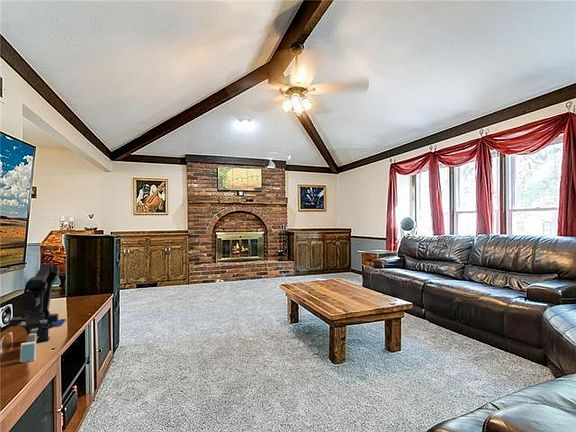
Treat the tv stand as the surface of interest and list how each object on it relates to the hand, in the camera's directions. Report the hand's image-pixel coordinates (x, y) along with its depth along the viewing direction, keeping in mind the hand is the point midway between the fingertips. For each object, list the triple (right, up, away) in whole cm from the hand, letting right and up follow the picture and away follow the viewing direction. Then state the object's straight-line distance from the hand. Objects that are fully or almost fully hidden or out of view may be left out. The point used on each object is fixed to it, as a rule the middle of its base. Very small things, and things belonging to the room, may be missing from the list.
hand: (33, 337), depth 156 cm
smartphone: (-18, -7, +41) cm, 45 cm away
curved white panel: (+1, -1, -2) cm, 2 cm away
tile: (+7, -6, -12) cm, 15 cm away
